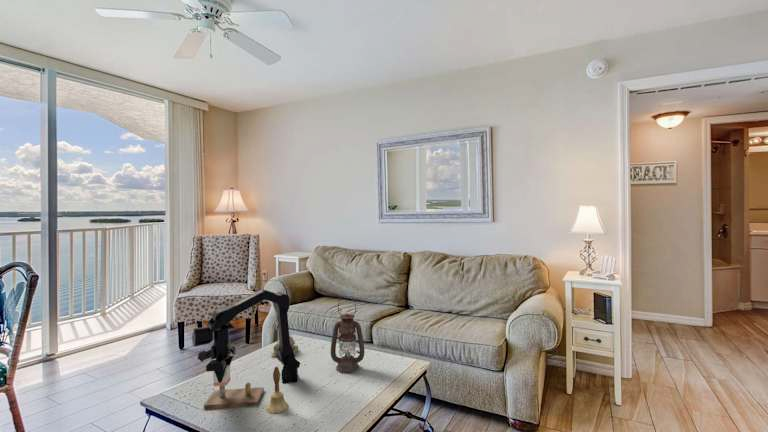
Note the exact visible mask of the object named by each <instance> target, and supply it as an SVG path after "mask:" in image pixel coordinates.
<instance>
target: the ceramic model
mask: <svg viewBox="0 0 768 432" xmlns="http://www.w3.org/2000/svg"><path fill="white" fill-rule="evenodd" d="M289 337H290V345H291V347H292V349H293V352H294V355H296V353H297V352H298V350H299V345H295V344H296V341H295V340H294V338H293V336H291V335H289ZM278 347H279V340H277V342H276V344H275V345H274V346H273V347H272V348H273V352H272V353H271V354H270V357H271V358H276V351H275V349H277V348H278Z"/></svg>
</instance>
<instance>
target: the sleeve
mask: <svg viewBox="0 0 768 432" xmlns="http://www.w3.org/2000/svg"><path fill="white" fill-rule="evenodd" d="M212 375H213V376H212V377H213V379H212V380H213V381H212V382H213V383H212V384H213V385H212V386H213V387H220V386H225V387H226V386H227V385H228V384H229V383H230V381H231V364H230V365H227V368H226V371H225V374H224V377H223V379H222V382H220V383H219V382H218V380H217V377H216V374H215V372H214V371H212Z"/></svg>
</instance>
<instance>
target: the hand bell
mask: <svg viewBox="0 0 768 432" xmlns="http://www.w3.org/2000/svg"><path fill="white" fill-rule="evenodd" d="M272 379H273V383H274V392H273V393H272V394H271V395H270V401H269V403H268V405H267V406H266V408H265V410H266V412H267V413H268V414H272V415H274V414H275V415H276V414H281V413H283V412H286V411H287V410H288V408H289V404H288V403H287V402H286V400H285V398H284V393H283V392H282V391H280V379H281V371H280V370H279V366H274V369H273V373H272Z"/></svg>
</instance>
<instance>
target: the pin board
mask: <svg viewBox="0 0 768 432" xmlns="http://www.w3.org/2000/svg"><path fill="white" fill-rule="evenodd" d="M244 387H245V388H231V389H226V385H225V386H218V388H219V389H215V390H213V392H211V394H210V396H209V397H208V399H207V400H206V402H205V403H204V404H203V410H212V409H224V408H225V409H226V408H227V409H228V408H237V407H238V408H239V407H241V408H242V407H253V406H256V407H257V406H259V403H260V401H261V398H262V396H263V393H264V389H265V388H264V386H263V387H262V386H261V387H251V383H250V382H246V383H245V386H244Z"/></svg>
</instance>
